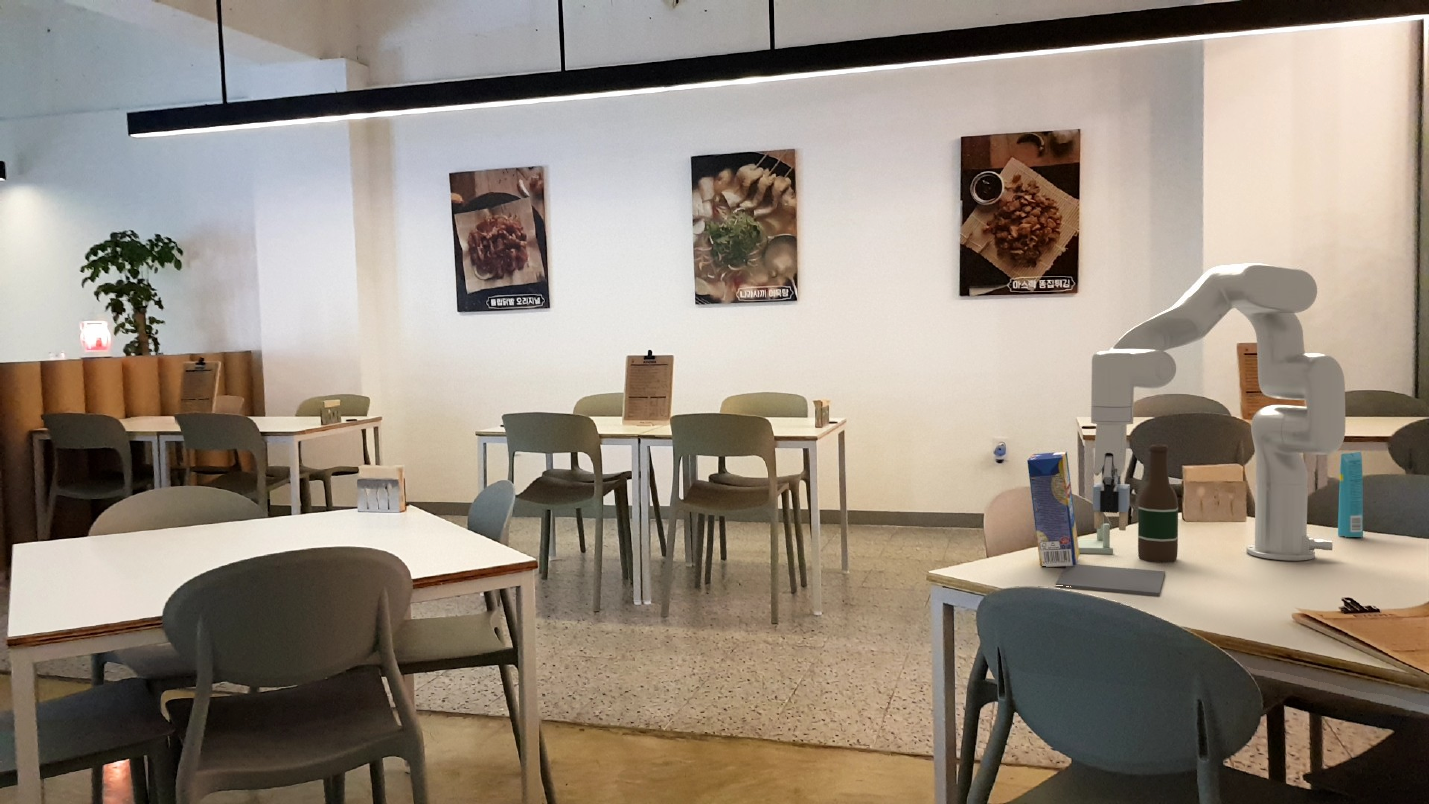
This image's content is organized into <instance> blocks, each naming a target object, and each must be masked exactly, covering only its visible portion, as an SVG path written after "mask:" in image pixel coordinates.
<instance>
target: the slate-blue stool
mask: <svg viewBox="0 0 1429 804" xmlns="http://www.w3.org/2000/svg"><path fill="white" fill-rule="evenodd" d="M1130 485H1131V484H1127V483H1121V484H1117V492H1119V507H1118V512H1117V513H1118V531H1123V532H1124V531H1126V530H1127V528H1126V527H1128V525H1129V523H1128V522H1129V521H1128V520H1129V509H1130V502H1131V501H1130V496H1131V495H1130V490H1131V486H1130ZM1100 491H1101V482H1096V483H1095V484H1094V485H1093V486H1092V511H1094V513H1093V514H1094V515H1093V517H1094V518H1093V519H1094V521H1093V526H1094V527H1093V529H1096V530H1097V529H1101V525H1103V518H1104V513H1105V512H1101V511H1100Z"/></svg>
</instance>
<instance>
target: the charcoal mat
mask: <svg viewBox="0 0 1429 804" xmlns="http://www.w3.org/2000/svg"><path fill="white" fill-rule="evenodd" d="M1165 573H1166V572H1165V570H1155V569H1154V570H1152V569H1143V568H1142V569H1141V568H1130V567H1129V568H1128V567H1118V566H1117V567H1116V566H1114V567H1113V566H1106V565H1105V566H1103V565H1090V564H1080V563H1078V564H1077V563H1076V565H1075V566H1065V568H1064V570H1063V571H1062V573H1061V574H1060V575H1059V577H1058V579H1057V581H1056V582H1055V585H1063V586H1057V587H1056V588H1066V586H1069V587H1070V586H1071V587H1072V588H1071V589H1075V588H1080V589H1079V590H1088V591H1089V590H1090V591H1099V592H1107V593H1108V592H1111V593H1119V592H1120V593H1121V594H1132V595H1133V594H1134V595H1141V596H1142V595H1144V596H1151V597H1152V596H1155V597H1160V595H1161V591H1162V587H1163V583H1164V579H1165ZM1055 585H1054V586H1055ZM1066 589H1067V588H1066Z"/></svg>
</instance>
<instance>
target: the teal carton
mask: <svg viewBox="0 0 1429 804" xmlns="http://www.w3.org/2000/svg"><path fill="white" fill-rule="evenodd" d="M1340 457H1341V458H1340V467H1339V468H1340V469H1339V486H1338V487H1339V491H1338V515H1337V516H1338V519H1337V535H1339V537H1340V536H1345V537H1344V538H1346V537H1361V538H1363V537H1362V536H1364V501H1363V499H1364V491H1363V490H1364V489H1363V487H1364V486H1363V483H1364V482H1363V480H1364V479H1363V478H1364V477H1363V476H1364V475H1363V458H1362V452H1361V451H1356V452H1348V453H1344V452H1343V453H1341V455H1340Z"/></svg>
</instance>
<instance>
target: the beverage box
mask: <svg viewBox="0 0 1429 804" xmlns="http://www.w3.org/2000/svg"><path fill="white" fill-rule="evenodd" d="M1026 460H1027V468H1028V476H1029V477H1028V478H1029V484H1030V485H1029V487H1030V492H1031V502H1032V503H1031V504H1032V511H1033V519H1034V525H1035V535H1036V541H1037V542H1036V543H1037V551H1038V558H1039V559H1038V560H1039V566H1046V567H1045V568H1048V567H1049V568H1050V567H1066V566H1075V565H1076V564H1077V563H1078V559H1079V557H1080V553H1079V547H1078V539H1077V538H1078V533H1077V526H1076V525H1077V524H1076V516H1075V515H1076V514H1075V507H1074V500H1073V491H1072V482H1071V474H1070V467H1069V466H1070V465H1069V458H1068V451H1057V452H1056V451H1055V452H1043V453H1033V454H1032V455H1031V456H1030V457H1029V458H1028V459H1026Z"/></svg>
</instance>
